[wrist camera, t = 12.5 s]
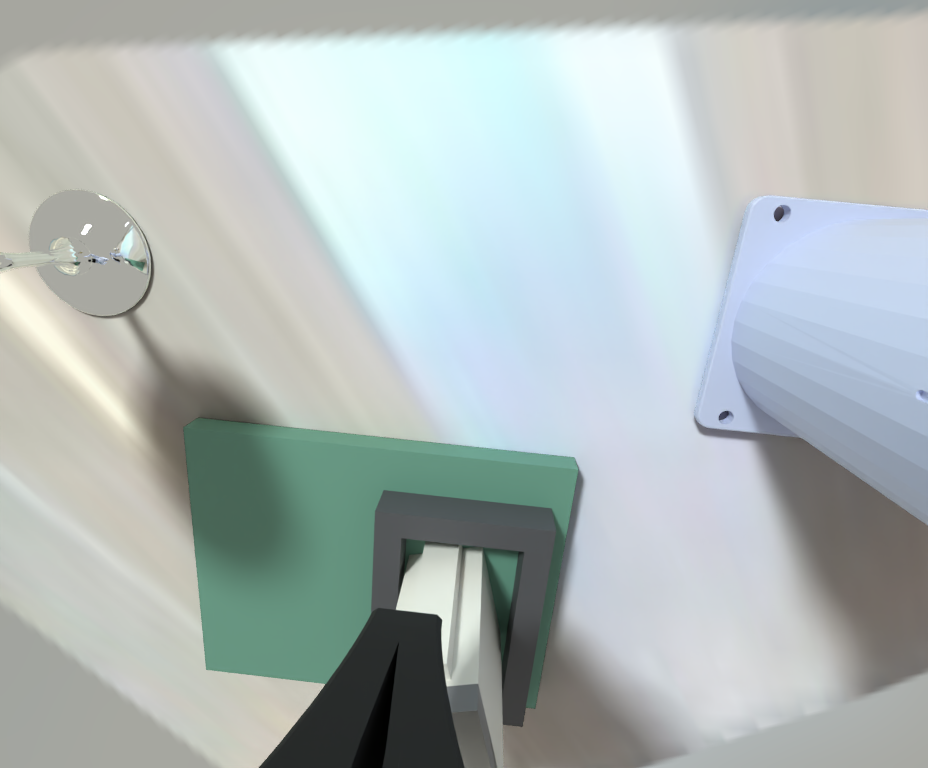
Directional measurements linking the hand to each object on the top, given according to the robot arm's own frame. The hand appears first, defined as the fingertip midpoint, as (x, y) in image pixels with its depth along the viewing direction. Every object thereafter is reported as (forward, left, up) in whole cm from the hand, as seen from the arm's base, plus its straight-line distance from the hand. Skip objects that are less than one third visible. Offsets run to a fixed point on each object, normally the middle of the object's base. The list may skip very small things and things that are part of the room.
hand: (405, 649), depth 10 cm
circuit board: (+2, +6, -10) cm, 12 cm away
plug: (-1, +6, -9) cm, 11 cm away
